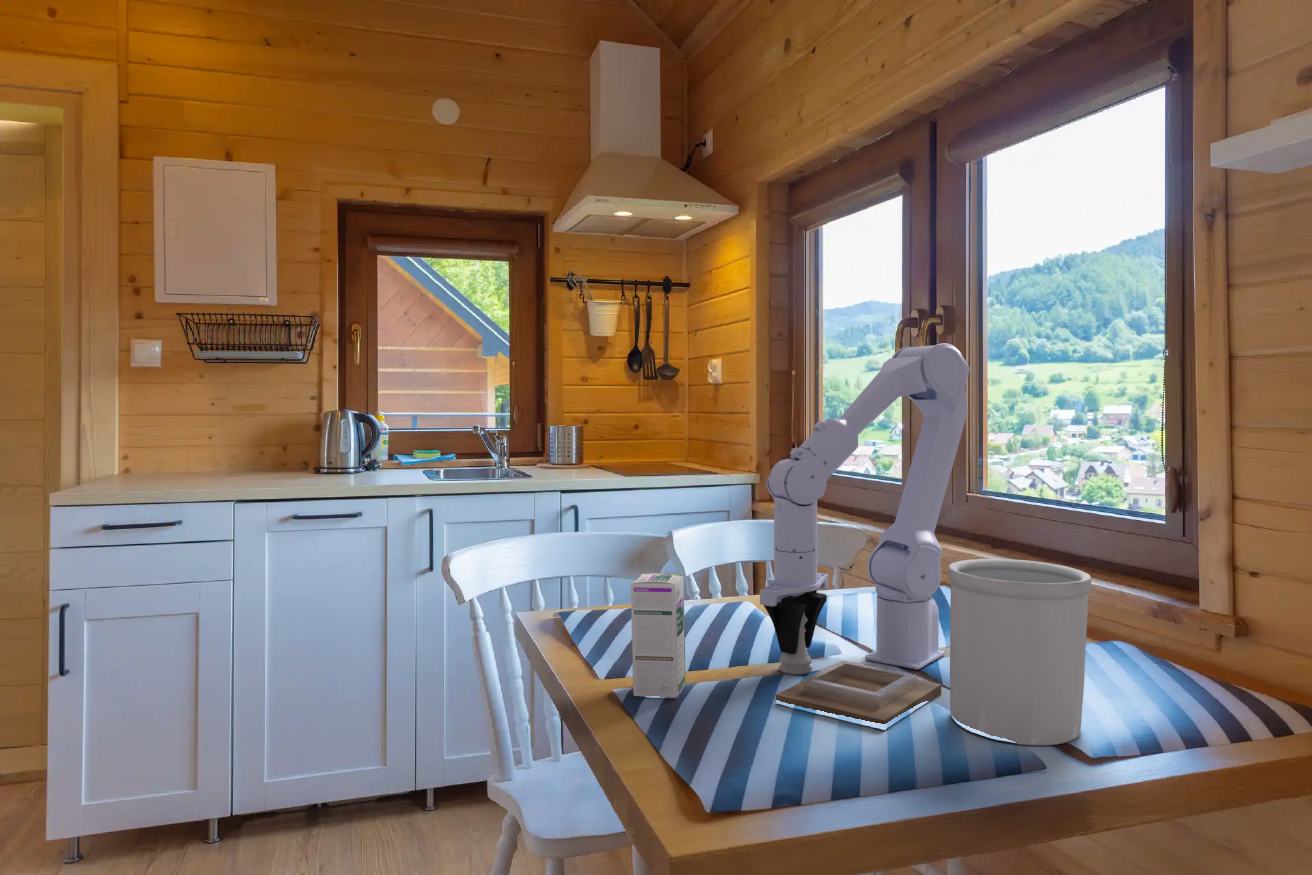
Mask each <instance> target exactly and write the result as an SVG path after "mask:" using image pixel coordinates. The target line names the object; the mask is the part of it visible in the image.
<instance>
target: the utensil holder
mask: <svg viewBox="0 0 1312 875" xmlns="http://www.w3.org/2000/svg"><path fill="white" fill-rule="evenodd" d="M947 573H948V580H949V582H950V603H949V604H950V611H949V613H950V615H949V616H950V617H949V653H950V654H949V697H950V698H949V700H950V702H949V703H950V704H949V705H950V706H949V707H950V709H949V710H950V711H949V712H950V716H951V715H952V716H953V717H954V718H955V719H956V720H957V721H959V722H960V723H962V724H964V725H966V726H969V727H970V728H973V729H976V730H979V731H981V732H984V733H986V734H989V735H991V736H997V737H1000V738H1006V739H1008V740H1011V741H1014V742H1016V743H1019V744H1018V745H1023V746H1054V745H1060V744H1061V745H1062V744H1065V743H1070V742H1072V741H1074V740H1075V739H1077V738H1078V737H1079V736H1080V734H1081V729H1082V721H1083V720H1082V719H1083V717H1082V716H1083V703H1084V702H1083V701H1084V693H1085V692H1084V690H1085V676H1086V674H1085V669H1086V650H1087V649H1086V647H1087V634H1088V633H1087V632H1088V631H1087V630H1088V629H1087V628H1088V612H1089V611H1088V609H1089V608H1088V605H1089V603H1088V602H1089V592H1090V591H1091V589H1092V577H1091V575H1090V574H1089V573H1086V572H1085V571H1082V570H1080V569H1076V568H1073V567H1069V566H1065V565H1060V564H1054V563H1049V562H1042V561H1036V560H1026V559H1025V560H1024V559H1007V558H978V559H976V558H975V559H963V560H958V561H956V562H955V561H953V562H952V563H950V564H949V565H948V569H947Z"/></svg>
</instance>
